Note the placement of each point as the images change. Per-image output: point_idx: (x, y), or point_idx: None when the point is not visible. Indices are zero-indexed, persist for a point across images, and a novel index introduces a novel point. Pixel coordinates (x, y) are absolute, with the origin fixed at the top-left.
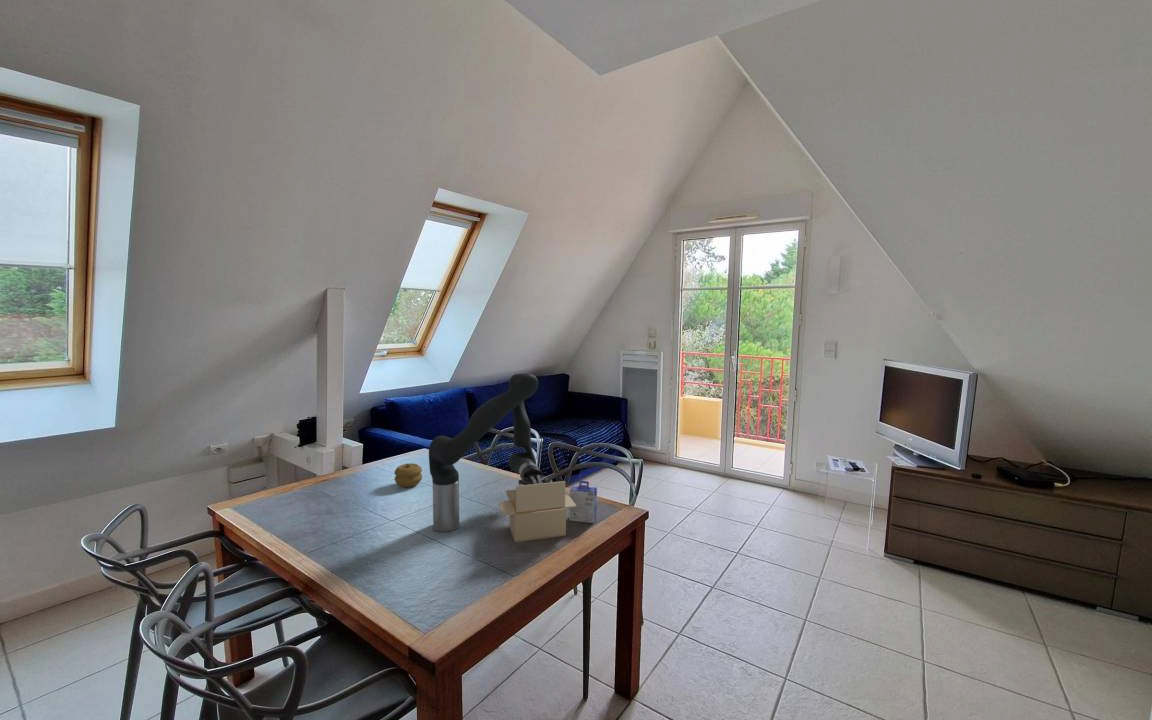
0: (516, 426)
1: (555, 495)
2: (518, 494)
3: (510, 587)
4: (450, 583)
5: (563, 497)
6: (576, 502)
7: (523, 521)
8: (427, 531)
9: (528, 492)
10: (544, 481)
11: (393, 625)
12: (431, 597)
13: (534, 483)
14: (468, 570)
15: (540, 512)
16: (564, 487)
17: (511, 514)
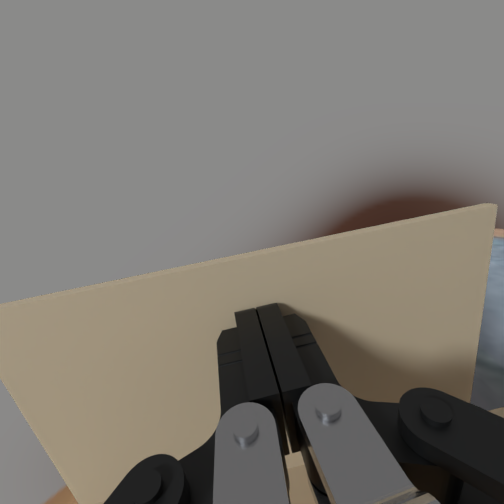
0: None
1: (134, 396)
2: (459, 281)
3: None
4: (499, 291)
5: (67, 435)
6: None
7: None
8: None
9: (375, 293)
10: (158, 486)
11: (497, 231)
12: (498, 264)
13: (355, 409)
14: (499, 329)
15: (288, 457)
16: (16, 361)
17: (499, 412)
